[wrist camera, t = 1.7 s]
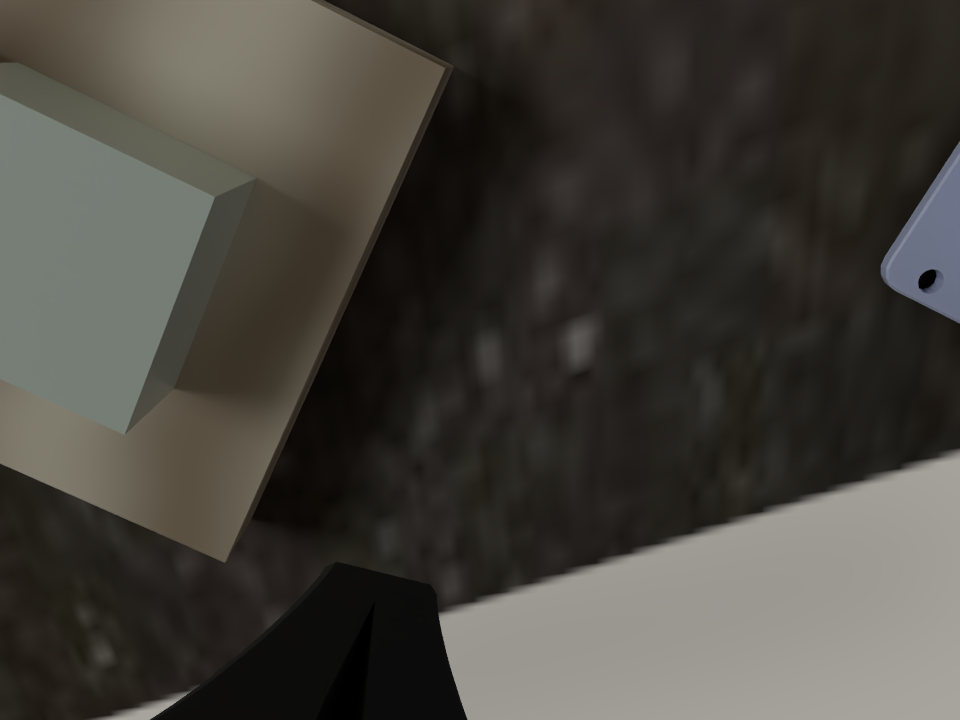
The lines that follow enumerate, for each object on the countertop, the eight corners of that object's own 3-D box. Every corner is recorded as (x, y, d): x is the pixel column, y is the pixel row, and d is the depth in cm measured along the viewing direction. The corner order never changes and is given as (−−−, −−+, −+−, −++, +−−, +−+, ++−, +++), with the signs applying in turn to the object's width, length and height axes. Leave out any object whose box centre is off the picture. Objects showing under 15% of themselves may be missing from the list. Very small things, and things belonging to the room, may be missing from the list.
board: (454, 66, 19) (445, 67, 17) (250, 520, 23) (224, 562, 21) (-192, -261, 18) (-278, -297, 16) (-296, 276, 22) (-375, 297, 20)
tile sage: (257, 177, 18) (215, 196, 16) (174, 388, 20) (124, 435, 17) (18, 62, 18) (-62, 64, 15) (-48, 287, 19) (-129, 320, 17)
